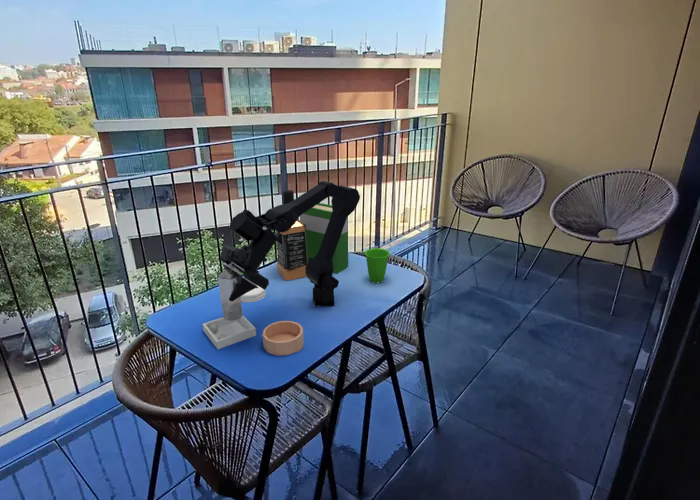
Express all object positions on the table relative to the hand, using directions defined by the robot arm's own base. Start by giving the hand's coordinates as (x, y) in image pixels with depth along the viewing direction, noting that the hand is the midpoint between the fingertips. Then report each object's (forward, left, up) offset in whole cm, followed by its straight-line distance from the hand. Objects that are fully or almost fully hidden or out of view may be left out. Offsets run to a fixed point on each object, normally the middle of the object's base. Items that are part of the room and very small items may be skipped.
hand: (225, 296), depth 111 cm
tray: (+1, -2, -13) cm, 14 cm away
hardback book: (-26, -50, -14) cm, 58 cm away
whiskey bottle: (-14, -43, -14) cm, 47 cm away
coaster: (-1, -25, -14) cm, 29 cm away
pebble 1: (+5, -3, -13) cm, 14 cm away
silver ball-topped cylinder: (-1, -1, -6) cm, 7 cm away
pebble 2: (+2, +3, -13) cm, 13 cm away
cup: (-45, -35, -14) cm, 59 cm away
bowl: (-15, +4, -13) cm, 21 cm away
